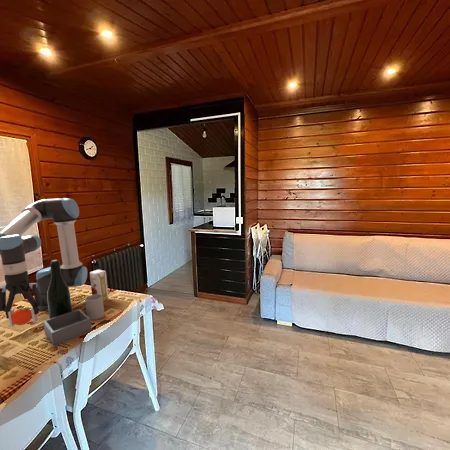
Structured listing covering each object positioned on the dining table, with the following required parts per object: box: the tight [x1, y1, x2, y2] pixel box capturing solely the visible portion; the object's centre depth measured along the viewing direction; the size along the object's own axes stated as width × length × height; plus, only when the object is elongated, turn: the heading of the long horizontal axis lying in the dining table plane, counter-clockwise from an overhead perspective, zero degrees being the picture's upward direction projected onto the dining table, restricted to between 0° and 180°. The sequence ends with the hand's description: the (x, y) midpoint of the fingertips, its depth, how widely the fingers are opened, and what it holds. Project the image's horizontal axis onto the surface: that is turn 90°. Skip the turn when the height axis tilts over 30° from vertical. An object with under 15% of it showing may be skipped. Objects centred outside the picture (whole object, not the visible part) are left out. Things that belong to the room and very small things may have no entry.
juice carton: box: [89, 269, 109, 303], centre depth 157 cm, size 8×9×19 cm
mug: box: [84, 294, 105, 321], centre depth 139 cm, size 12×8×11 cm
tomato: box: [12, 307, 32, 326], centre depth 108 cm, size 8×7×7 cm
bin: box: [42, 308, 93, 347], centre depth 122 cm, size 16×16×6 cm
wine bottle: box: [47, 259, 73, 319], centre depth 133 cm, size 10×10×33 cm
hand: (24, 323), depth 108 cm, fingers closed on tomato, 7 cm apart
